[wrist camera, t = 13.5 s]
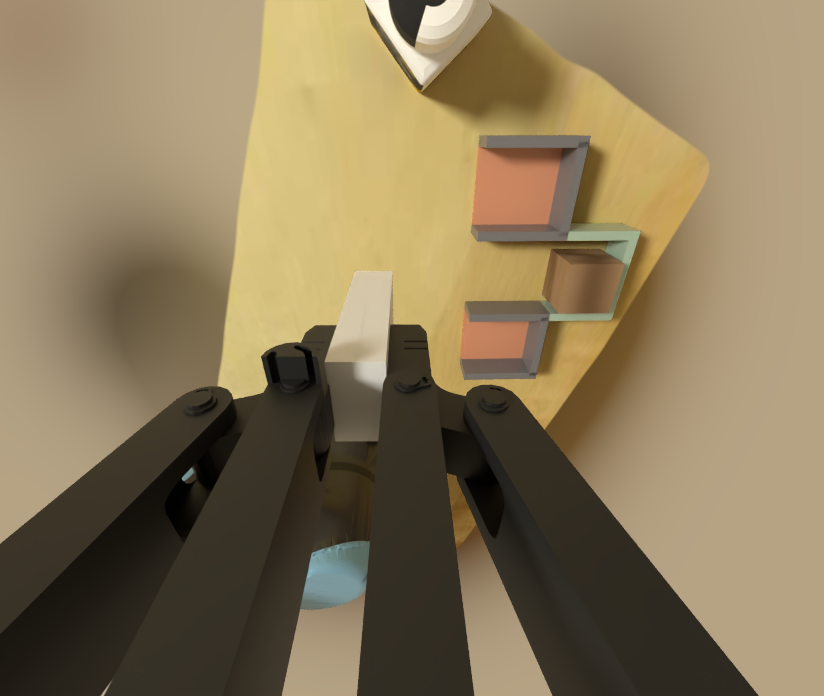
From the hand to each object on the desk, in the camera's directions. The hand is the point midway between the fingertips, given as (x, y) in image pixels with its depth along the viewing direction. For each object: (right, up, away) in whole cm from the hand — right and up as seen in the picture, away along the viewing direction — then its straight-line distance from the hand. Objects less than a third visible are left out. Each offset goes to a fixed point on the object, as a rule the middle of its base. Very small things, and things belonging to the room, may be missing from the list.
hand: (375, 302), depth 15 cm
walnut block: (+22, +8, +31) cm, 38 cm away
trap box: (+18, +8, +30) cm, 36 cm away
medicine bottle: (+3, +28, +18) cm, 33 cm away
